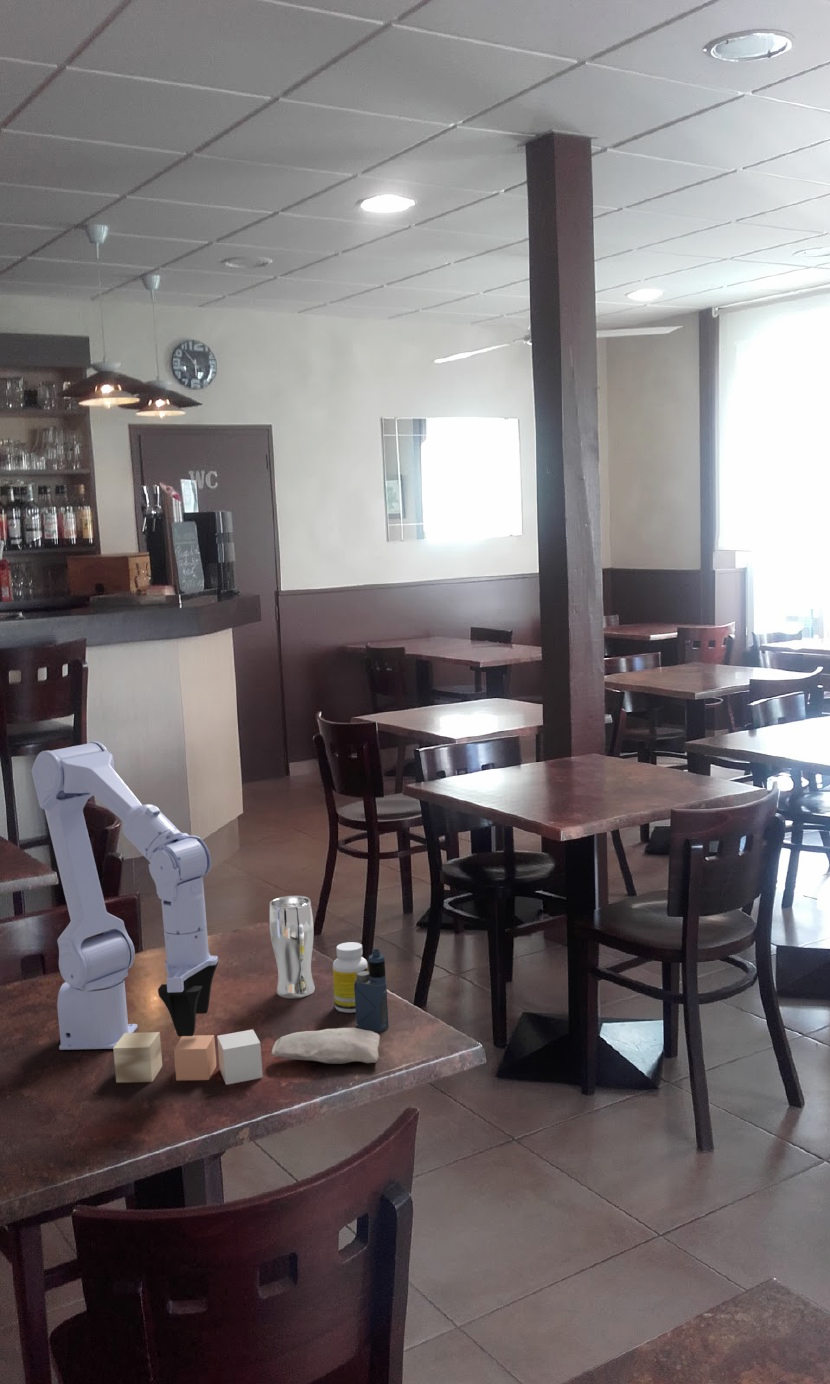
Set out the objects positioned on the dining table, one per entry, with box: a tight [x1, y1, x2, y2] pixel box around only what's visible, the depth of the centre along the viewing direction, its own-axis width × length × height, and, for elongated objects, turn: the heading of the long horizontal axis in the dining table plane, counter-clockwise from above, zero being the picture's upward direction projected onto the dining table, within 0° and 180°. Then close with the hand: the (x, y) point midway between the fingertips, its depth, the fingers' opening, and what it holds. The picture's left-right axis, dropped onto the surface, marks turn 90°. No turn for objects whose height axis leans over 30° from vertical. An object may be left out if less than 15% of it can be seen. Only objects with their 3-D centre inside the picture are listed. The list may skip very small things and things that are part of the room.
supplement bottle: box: [332, 941, 369, 1014], centre depth 183 cm, size 5×5×10 cm
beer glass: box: [269, 895, 316, 999], centre depth 190 cm, size 7×7×15 cm
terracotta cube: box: [173, 1034, 217, 1081], centre depth 163 cm, size 4×4×4 cm
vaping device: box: [354, 948, 389, 1033], centre depth 174 cm, size 3×5×12 cm, turn 58°
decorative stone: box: [271, 1027, 381, 1065], centre depth 165 cm, size 10×4×15 cm
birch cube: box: [113, 1031, 163, 1084], centre depth 163 cm, size 5×5×5 cm
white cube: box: [216, 1028, 264, 1085], centre depth 162 cm, size 5×5×5 cm
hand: (193, 1024), depth 162 cm, fingers open, 7 cm apart
